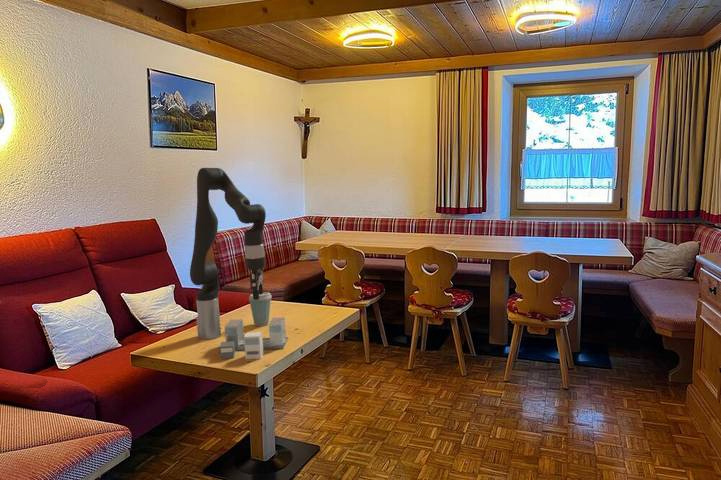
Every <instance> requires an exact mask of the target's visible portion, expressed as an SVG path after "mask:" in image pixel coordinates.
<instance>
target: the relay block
mask: <svg viewBox="0 0 721 480" xmlns="http://www.w3.org/2000/svg"><path fill="white" fill-rule="evenodd" d="M219 353H220V360H228V359H234V358H235V355H236V351H235V345H234V341H231V342H226V341H224V342H223V341H221V342H220V345H219Z"/></svg>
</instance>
